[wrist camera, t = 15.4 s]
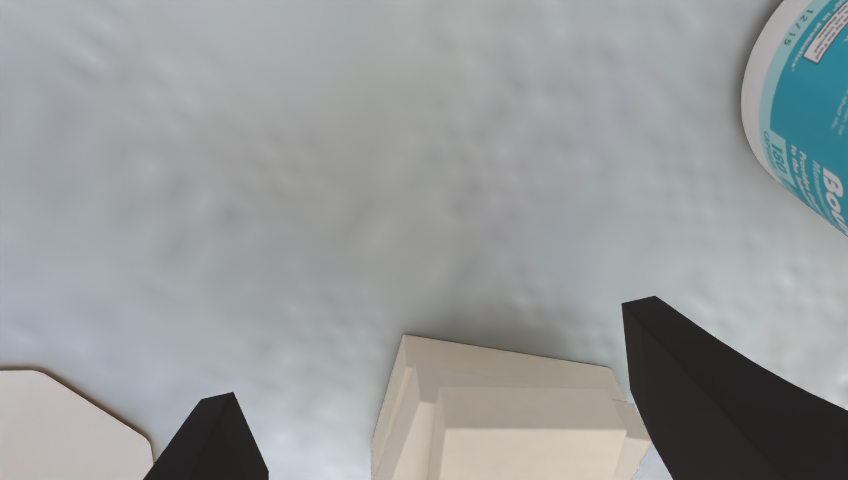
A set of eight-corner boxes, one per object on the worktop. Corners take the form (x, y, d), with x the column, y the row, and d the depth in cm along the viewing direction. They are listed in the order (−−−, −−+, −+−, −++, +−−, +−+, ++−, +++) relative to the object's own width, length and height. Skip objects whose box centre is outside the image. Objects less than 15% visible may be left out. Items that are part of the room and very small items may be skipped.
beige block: (370, 445, 27) (372, 527, 23) (404, 328, 24) (411, 400, 21) (569, 472, 28) (596, 552, 25) (619, 362, 26) (656, 435, 23)
